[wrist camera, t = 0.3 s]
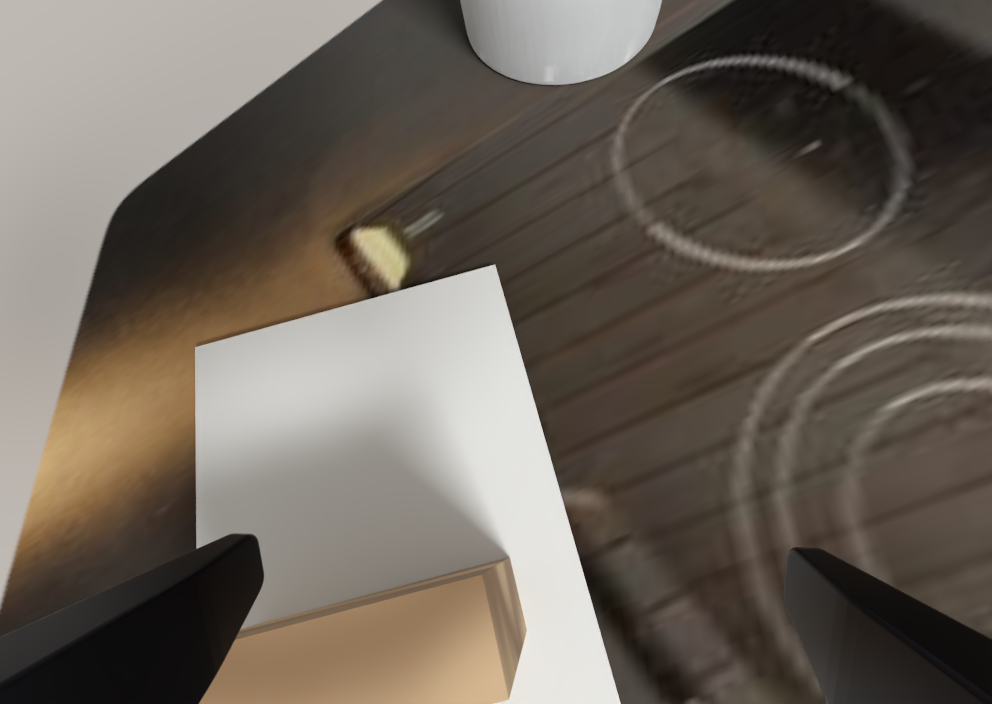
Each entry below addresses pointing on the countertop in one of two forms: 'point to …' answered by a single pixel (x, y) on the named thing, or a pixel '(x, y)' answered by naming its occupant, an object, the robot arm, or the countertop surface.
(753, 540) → the countertop surface
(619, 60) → the utensil holder
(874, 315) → the countertop surface
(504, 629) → the oak board
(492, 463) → the mat
